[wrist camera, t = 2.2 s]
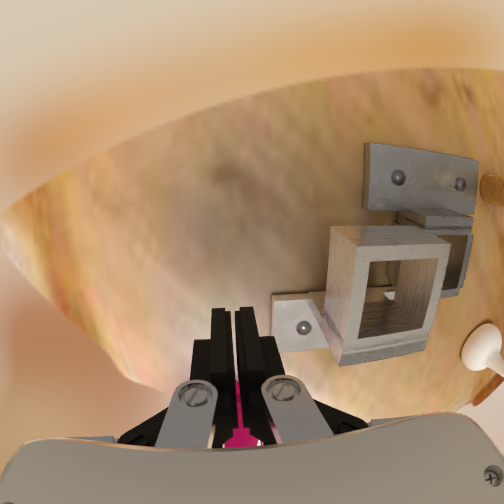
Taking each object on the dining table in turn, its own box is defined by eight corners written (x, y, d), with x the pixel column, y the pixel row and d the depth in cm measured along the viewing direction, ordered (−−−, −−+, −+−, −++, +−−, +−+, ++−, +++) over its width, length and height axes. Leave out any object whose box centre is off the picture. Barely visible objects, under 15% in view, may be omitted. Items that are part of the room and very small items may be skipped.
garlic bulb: (478, 312, 27) (517, 344, 20) (497, 328, 28) (531, 358, 21) (449, 354, 29) (481, 392, 21) (471, 365, 30) (500, 399, 22)
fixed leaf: (471, 160, 21) (501, 164, 17) (456, 274, 25) (481, 291, 21) (364, 143, 20) (390, 142, 16) (354, 284, 24) (374, 307, 20)
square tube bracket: (414, 213, 22) (481, 242, 14) (393, 332, 26) (436, 385, 18) (272, 212, 21) (298, 248, 13) (270, 346, 25) (286, 417, 17)
